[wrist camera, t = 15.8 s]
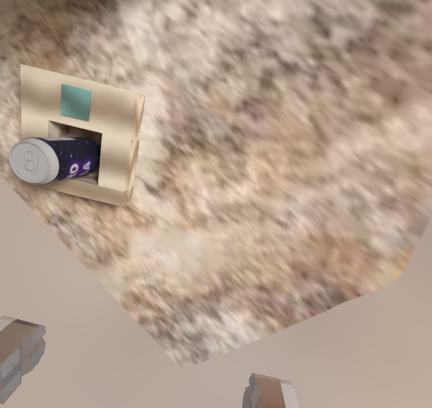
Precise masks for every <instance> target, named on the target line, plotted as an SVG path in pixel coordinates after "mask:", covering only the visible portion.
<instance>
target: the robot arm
mask: <svg viewBox="0 0 432 408" xmlns="http://www.w3.org/2000/svg"><path fill="white" fill-rule="evenodd" d="M45 333H46V332H45V326H41V325H38V324H34V323H30V322H26V321H22V320H19V319H14V318H10V317H6V316H4V317H1V318H0V404H4V403H5V402H6V400H7V399H8V398H9V397H10V396H11V394H12V393H13V392H14V391H15V390H16V389H17V387H18V386H19V385H20V384H21V379H22V376H23V375H25V374H27V373H28V372H30V371H32V370H33V368H34V367H35V366H36V365H37V363H38V362H39V360H40V359H41V357H42V355H43V353H44V350H45V341H44V340H43V338H42V336H43V335H44V334H45ZM249 384H250V386H248V387H246V389H245V392H244V397H243V406H242V408H299V407H298V403H297V399H296V395H295V391H294V388H293V385H292V383H291V382H290V381H285V380H281V379H277V378H273V377H269V376H264V375H259V374H254V373H253V374H251V376H250V379H249Z"/></svg>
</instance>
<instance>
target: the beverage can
mask: <svg viewBox="0 0 432 408" xmlns="http://www.w3.org/2000/svg"><path fill="white" fill-rule="evenodd" d="M100 155H101V149H100V147H99V145H98V144H97V143H96V142H95V141H93V140H92V139H89V138H86V137H32V138H26V139H24V140H23V141H21V142H18V143H16V144H14V145H13V146H12V148H11V149H10V152H9V162H10V165H11V168H12V170H13V171H14V172H15V174H16V175H17V176H18V177H19V178H21V179H22V180H24V181H26V182H29V183H38V184H49V183H52V182H56V181H60V180H64V179H68V178H72V177H75V176H79V175H83V174H87V173H91V172H94V171H96V170H98V169H99V167H100Z"/></svg>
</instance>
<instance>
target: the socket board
mask: <svg viewBox="0 0 432 408" xmlns="http://www.w3.org/2000/svg"><path fill="white" fill-rule="evenodd" d="M20 83H21V135H22V141H23V140H24V139H26V138H32V137H67V125H71V126H75V127H79V128H83V129H87V130H91V131H95V132H99V133H102V143H101V155H100V167H99V178H97V177H93V176H89V175H84V174H83V175H79V176H75V177H72V178H68V179H64V180H60V181H56V182H52V183H49V184H38V183H29V182H26V181H24V180H22V183H25V184H29V185H33V186H38V187H42V188H46V189H50V190H54V191H59V192H63V193H67V194H71V195H75V196H79V197H84V198H88V199H92V200H96V201H100V202H105V203H109V204H113V205H117V206H123V205H125V204H126V203H128V202H129V201H131V200H132V194H133V186H134V178H135V170H136V163H137V155H138V147H139V139H140V132H141V124H142V116H143V109H144V101H145V97H144V96H142V95H140V94H138V93H136V92H133V91H129V90H125V89H121V88H117V87H113V86H109V85H105V84H101V83H97V82H93V81H88V80H84V79H80V78H76V77H72V76H68V75H64V74H60V73H56V72H52V71H48V70H44V69H40V68H36V67H32V66H28V65H24V64H20Z"/></svg>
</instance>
